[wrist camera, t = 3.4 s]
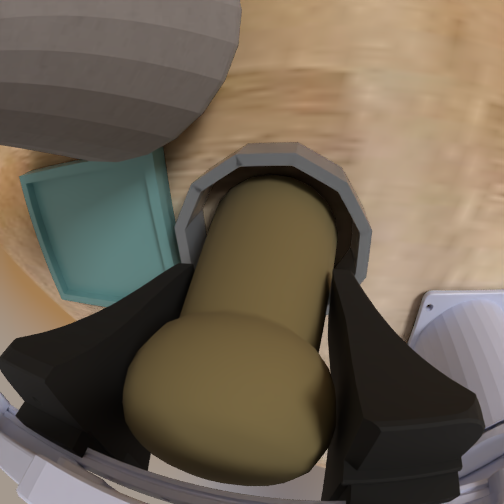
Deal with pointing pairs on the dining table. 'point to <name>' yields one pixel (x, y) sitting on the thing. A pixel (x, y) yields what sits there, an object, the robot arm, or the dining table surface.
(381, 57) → the dining table surface
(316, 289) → the cork
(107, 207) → the tray
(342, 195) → the ring
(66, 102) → the coffee pot
